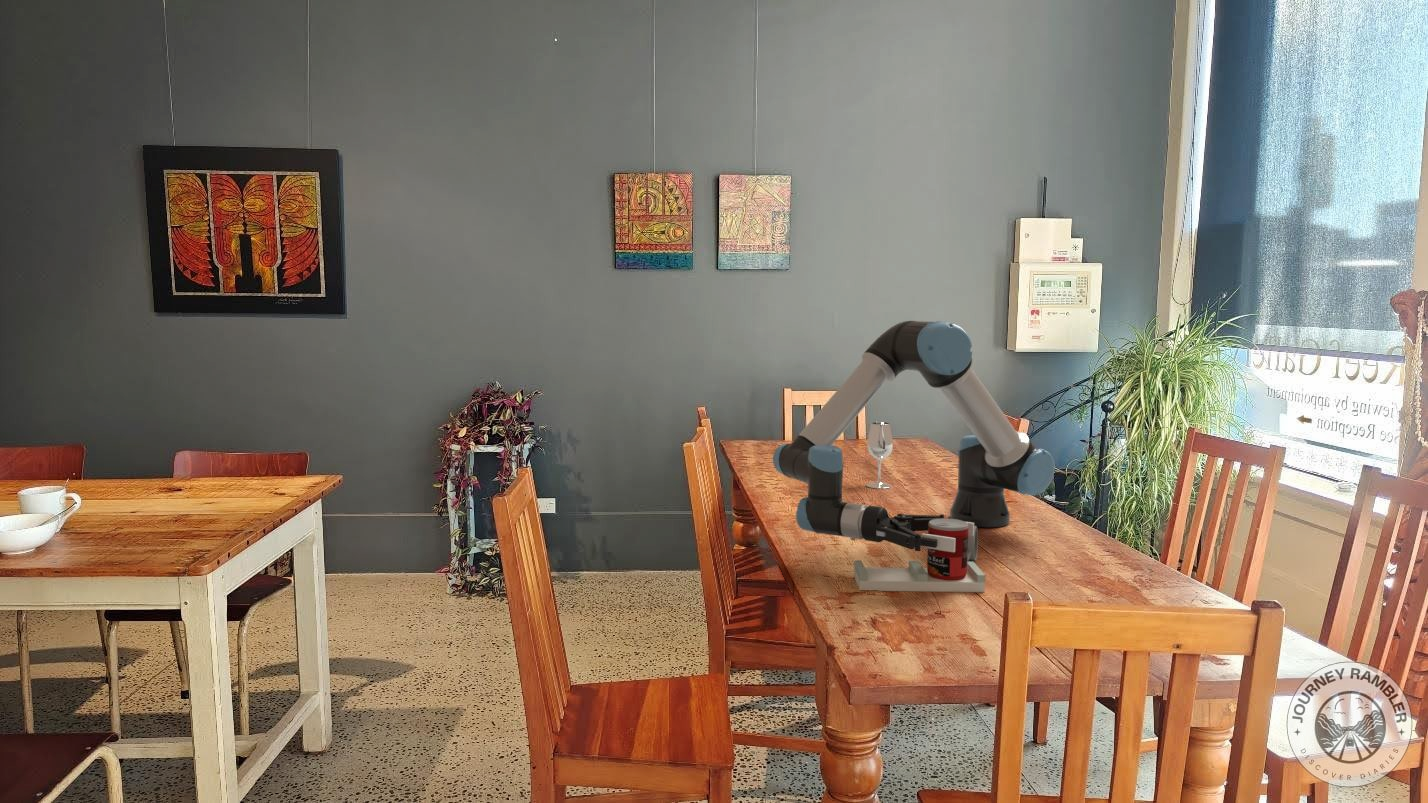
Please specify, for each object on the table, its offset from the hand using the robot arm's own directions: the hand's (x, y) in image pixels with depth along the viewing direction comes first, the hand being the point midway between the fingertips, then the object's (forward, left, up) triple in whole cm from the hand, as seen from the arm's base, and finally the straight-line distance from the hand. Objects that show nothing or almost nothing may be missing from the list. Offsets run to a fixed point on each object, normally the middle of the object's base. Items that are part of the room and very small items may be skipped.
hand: (964, 537), depth 174 cm
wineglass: (+2, -95, -11) cm, 95 cm away
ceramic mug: (-4, -19, -11) cm, 22 cm away
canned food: (+3, -2, -9) cm, 9 cm away
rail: (+9, -2, -10) cm, 14 cm away
